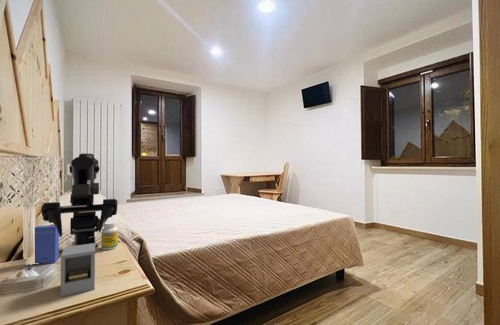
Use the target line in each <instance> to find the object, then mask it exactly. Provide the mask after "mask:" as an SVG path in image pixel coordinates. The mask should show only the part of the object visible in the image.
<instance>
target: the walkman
mask: <svg viewBox="0 0 500 325" xmlns="http://www.w3.org/2000/svg"><path fill="white" fill-rule="evenodd" d="M34 226H35V263H48V264H54V263H55V264H56V262H58V260H59V258H60V257H59V254H60V253H59V252H60V250H59V249H60V247H59V246H60V245H59V244H60V236H59V233H58V230H57V228H56V226H55V225H54V223H52V224H51V223H50V224H49V225H34Z"/></svg>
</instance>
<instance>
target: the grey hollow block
mask: <svg viewBox="0 0 500 325" xmlns="http://www.w3.org/2000/svg"><path fill="white" fill-rule="evenodd" d="M95 245H96V242H95V243H92V244H84V245H77V246H75V245H70V246H69V245H68V246H64V247H63V250H62V252H61V256H60V295H59V296H60V297H61V298H62V297H66V296H70V295H76V294H80V293H85V292H88V291H89V292H90V291H93V290H95V283H96V282H95V276H96V272H95V271H96V247H95ZM84 268H88V278H85V279H80V280H75V281H70V282H69V274H70V271H73V270H79V269H84Z"/></svg>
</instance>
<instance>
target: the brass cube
mask: <svg viewBox="0 0 500 325" xmlns="http://www.w3.org/2000/svg"><path fill="white" fill-rule="evenodd" d="M85 278H88V268H84V269H79V270H73V271H70V274H69V282H70V281H75V280H80V279H85Z"/></svg>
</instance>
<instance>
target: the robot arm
mask: <svg viewBox="0 0 500 325" xmlns="http://www.w3.org/2000/svg"><path fill="white" fill-rule="evenodd" d="M68 168H69V173H70V175H72V180H73V182H72V185H71V194H70V198H69V199H70V200H69V202H70V205H62V206H61V202H60V201H57V202H56V201H53V202H51V201H50V202H45V203H43V204H42V205H41V208H40V209H41V210H40V211H41V216H42V220H43V221H45V222H48V223H50V224H51V223H52V224H54V225H55V226H56V228H57V230H58V233H59V238H62V236H63V224H62V214H72V213H73V214H72V217H71V218H70V224H69V225H70V228H69V229H70V236H72V235H74V246H77V245H84V244H92V243H95V248H98V247H99V244H96V235H95V233H102V230H103V229H104V228H103V227H104V224H105V223H106V222H108V219H110V218H113V216H116V215H117V214H118V213H117V212H118V200H117V199H116V198H105V199H103V200H102V203H100V204H94V201H95V200H94V199H95V198H94V197H95V195H99V193H100V182H95V180H96V179H97V175H98V174H99V171H100V166H99V160H98V159H97V158H95V154H93V153H83V152H82V153H80V154H78V156H77V157H75V158H73V159H72V160H71V163H70V165H69V167H68ZM96 212H100V218H99V215H96V214H97V213H96Z"/></svg>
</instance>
